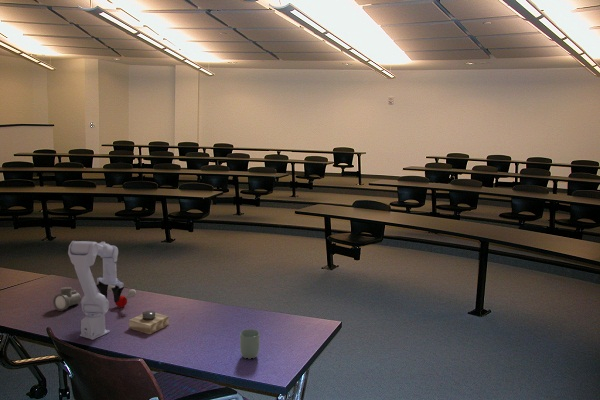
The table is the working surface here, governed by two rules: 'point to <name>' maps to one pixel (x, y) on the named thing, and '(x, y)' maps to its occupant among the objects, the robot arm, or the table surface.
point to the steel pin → (148, 315)
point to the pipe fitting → (66, 298)
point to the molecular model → (123, 299)
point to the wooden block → (149, 323)
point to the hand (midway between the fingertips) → (110, 300)
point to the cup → (249, 343)
